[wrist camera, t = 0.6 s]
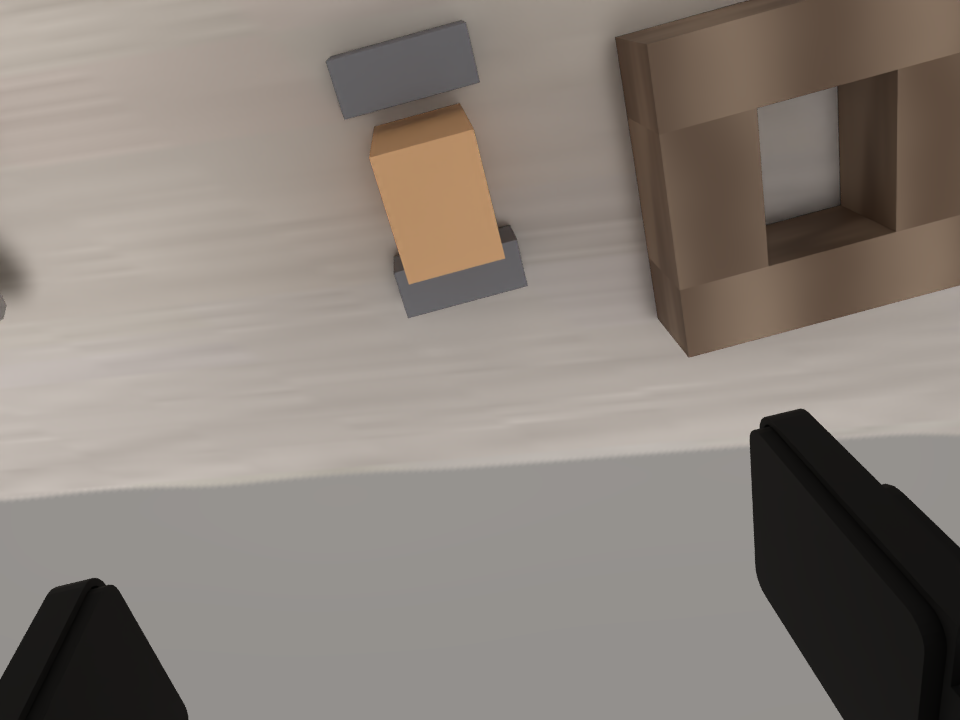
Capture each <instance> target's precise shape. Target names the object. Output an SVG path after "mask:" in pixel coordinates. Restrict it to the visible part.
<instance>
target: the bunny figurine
mask: <svg viewBox="0 0 960 720" xmlns="http://www.w3.org/2000/svg"><path fill="white" fill-rule="evenodd" d="M5 310H6V303H5V301H4V299H3V296H2V294H1V293H0V320H2V319H4V315H5Z"/></svg>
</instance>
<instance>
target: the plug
mask: <svg viewBox="0 0 960 720" xmlns="http://www.w3.org/2000/svg"><path fill="white" fill-rule="evenodd" d="M369 159H370V162H371V165H372V169H373V172H374V175H375V178H376V181H377V185H378V188H379V191H380V194H381V197H382V200H383V204H384V207H385V210H386V213H387V216H388V220H389V223H390V226H391V229H392V232H393V236H394V239H395V242H396V245H397V248H398V251H399V255H400V258H401V261H402V264H403V267H404V271H405V274H406V277H407V280H408V283H409V284H413V283H416V282H420V281H424V280H428V279H431V278H435V277H439V276H442V275H446V274H450V273H453V272H457V271H461V270H464V269H468V268H472V267H475V266H479V265H483V264H486V263H490V262H494V261H498V260H501V259H505V255H504V251H503V247H502V243H501V239H500V235H499V231H498V227H497V223H496V218H495V214H494V210H493V206H492V202H491V198H490V194H489V190H488V186H487V182H486V178H485V174H484V170H483V165H482V161H481V157H480V153H479V149H478V145H477V141H476V137H475V133H474V129H473V127H472V125H471V123H470V122H469V120H468V118H467V116H466V114H465V112H464V111H463V109H462V107H461V105H460V103H458V104H455V105H451V106H448V107H444V108H440V109H437V110H433V111H430V112H426V113H422V114H419V115H415V116H411V117H408V118H404V119H401V120H397V121H393V122H390V123H386V124H383V125H379V126H375V127H374V132H373V138H372V144H371V150H370V156H369Z"/></svg>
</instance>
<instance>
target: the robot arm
mask: <svg viewBox="0 0 960 720" xmlns="http://www.w3.org/2000/svg"><path fill="white" fill-rule="evenodd" d="M750 454H751V455H750V457H751V478H752V500H753V523H754V543H755V544H754V545H755V565H756V573H757V578H758V581H759V584H760V586H761V588H762V591H763V592H764V594H765V596H766V598H767V599H768V601H769V602H770V604H771V605H772V607H773V609H774V610H775V612H776V613H777V615H778V616H779V618H780V620H781V621H782V623H783V624H784V626H785V627H786V629H787V631H788V632H789V634H790V635H791V637H792V639H793V640H794V642H795V643H796V645H797V646H798V648H799V650H800V651H801V653H802V654H803V656H804V658H805V659H806V661H807V662H808V664H809V665H810V667H811V668H812V670H813V672H814V673H815V675H816V677H817V678H818V680H819V681H820V683H821V684H822V686H823V688H824V689H825V691H826V692H827V694H828V695H829V697H830V698H831V700H832V702H833V703H834V705H835V707H836V708H837V710H838V711H839V713H840V714H841V716H842V718H843V719H844V720H960V547H959V546H958V545H956V544H955V543H954V542H953V541H952V540H951V539H950V538H949V537H948V536H947V535H946V534H945V533H944V532H943V531H942V530H941V529H940V528H939V527H938V526H937V525H936V524H935V523H934V522H933V521H932V520H930V518H929V517H927V516H926V515H925V514H924V513H923V512H922V511H921V510H920V509H919V508H918V507H917V506H916V505H915V504H914V503H913V502H912V501H911V500H909V498H908V497H907V496H906V495H905V494H904V493H902V492H901V491H900V490H899V489H897V488H896V487H895V486H892V485H888V484H883V485H881V484H880V483H879V482H878V481H877V480H876V479H875V478H874V477H873V476H872V475H871V474H870V473H869V472H868V471H867V470H866V469H865V468H864V467H863V466H862V465H861V464H860V463H859V462H858V461H857V460H856V459H855V458H854V457H853V456H852V455H851V454H850V453H849V452H848V451H847V450H846V449H845V448H844V447H843V446H842V445H841V444H840V443H839V442H838V441H837V440H836V439H835V438H834V437H833V436H832V435H831V434H830V433H829V432H828V431H827V430H826V429H825V428H824V427H823V426H822V425H821V424H820V423H819V422H818V421H817V420H816V419H815V418H814V417H813V416H812V415H811V414H810V413H809V412H807V411H806V410H804V409H797V410H792V411H788V412H784V413H780V414H776V415H772V416H767V417H764V418H763V419H762V420H761V423H760V429H757V430H753V431H752V432H751V434H750ZM0 720H188V714H187V710H186V707H185V705H184V703H183V701H182V700H181V698H180V696H179V694H178V693H177V691H176V689H175V688H174V686H173V684H172V682H171V681H170V679H169V677H168V675H167V674H166V672H165V670H164V668H163V667H162V665H161V663H160V661H159V660H158V658H157V656H156V654H155V653H154V651H153V649H152V647H151V646H150V644H149V642H148V640H147V639H146V637H145V635H144V633H143V632H142V630H141V628H140V627H139V625H138V623H137V621H136V620H135V618H134V616H133V614H132V612H131V611H130V609H129V607H128V605H127V604H126V602H125V600H124V598H123V597H122V595H121V593H120V592H119V590H118V589H117V588H116V587H115V586H114V585H105V584H104V582H103V581H101V580H100V579H98V578H91V579H87V580H83V581H79V582H75V583H71V584H66V585H62V586H58V587H55V588H53V589H52V590H51V591H50V592H49V593H48V594H47V596H46V598H45V600H44V601H43V603H42V605H41V607H40V609H39V611H38V613H37V614H36V616H35V618H34V619H33V621H32V623H31V625H30V627H29V628H28V630H27V632H26V634H25V636H24V637H23V639H22V641H21V643H20V645H19V647H18V648H17V650H16V652H15V654H14V656H13V657H12V659H11V661H10V663H9V665H8V666H7V668H6V670H5V672H4V674H3V676H2V677H1V679H0Z"/></svg>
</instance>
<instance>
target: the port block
mask: <svg viewBox="0 0 960 720" xmlns="http://www.w3.org/2000/svg"><path fill="white" fill-rule="evenodd" d="M615 38H616V45H617V51H618V58H619V65H620V71H621V78H622V84H623V91H624V98H625V104H626V111H627V117H628V124H629V131H630V137H631V144H632V150H633V157H634V164H635V170H636V177H637V183H638V190H639V197H640V203H641V210H642V217H643V223H644V230H645V236H646V243H647V250H648V256H649V263H650V269H651V276H652V283H653V289H654V296H655V302H656V309H657V316H658V319H659V321H660V322H661V323H662V324H663V326H664V327H665V328H666V329H667V331H668V332H669V333H670V334H671V336H672V337H673V338H674V339H675V341H676V342H677V343H678V345H679V346H680V347H681V348H682V350H683V351H684V352H685V353H686V355H687V356H688V357H693V356H697V355H700V354H704V353H708V352H712V351H715V350H719V349H723V348H727V347H730V346H734V345H738V344H742V343H745V342H749V341H753V340H756V339H760V338H764V337H768V336H771V335H775V334H779V333H783V332H786V331H790V330H794V329H798V328H801V327H805V326H809V325H813V324H816V323H820V322H824V321H828V320H831V319H835V318H839V317H843V316H846V315H850V314H854V313H857V312H861V311H865V310H869V309H872V308H876V307H880V306H884V305H887V304H891V303H895V302H899V301H902V300H906V299H910V298H914V297H917V296H921V295H925V294H929V293H932V292H936V291H940V290H944V289H947V288H951V287H955V286H959V285H960V0H749V1H745V2H741V3H738V4H734V5H730V6H727V7H723V8H720V9H716V10H712V11H709V12H705V13H702V14H698V15H694V16H691V17H687V18H684V19H680V20H676V21H673V22H669V23H665V24H662V25H658V26H655V27H651V28H647V29H644V30H640V31H637V32H633V33H629V34H626V35H622V36H619V37H615ZM836 86H838V110H839V150H840V190H841V205H839V206H836V207H832V208H828V209H825V210H821V211H817V212H814V213H810V214H806V215H802V216H799V217H795V218H791V219H788V220H784V221H780V222H777V223H773V224H769V225H766V224H765V211H764V197H763V183H762V170H761V156H760V142H759V129H758V115H757V108H759V107H763V106H766V105H770V104H774V103H777V102H781V101H785V100H788V99H792V98H796V97H799V96H803V95H807V94H810V93H814V92H817V91H821V90H825V89H828V88H832V87H836Z"/></svg>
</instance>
